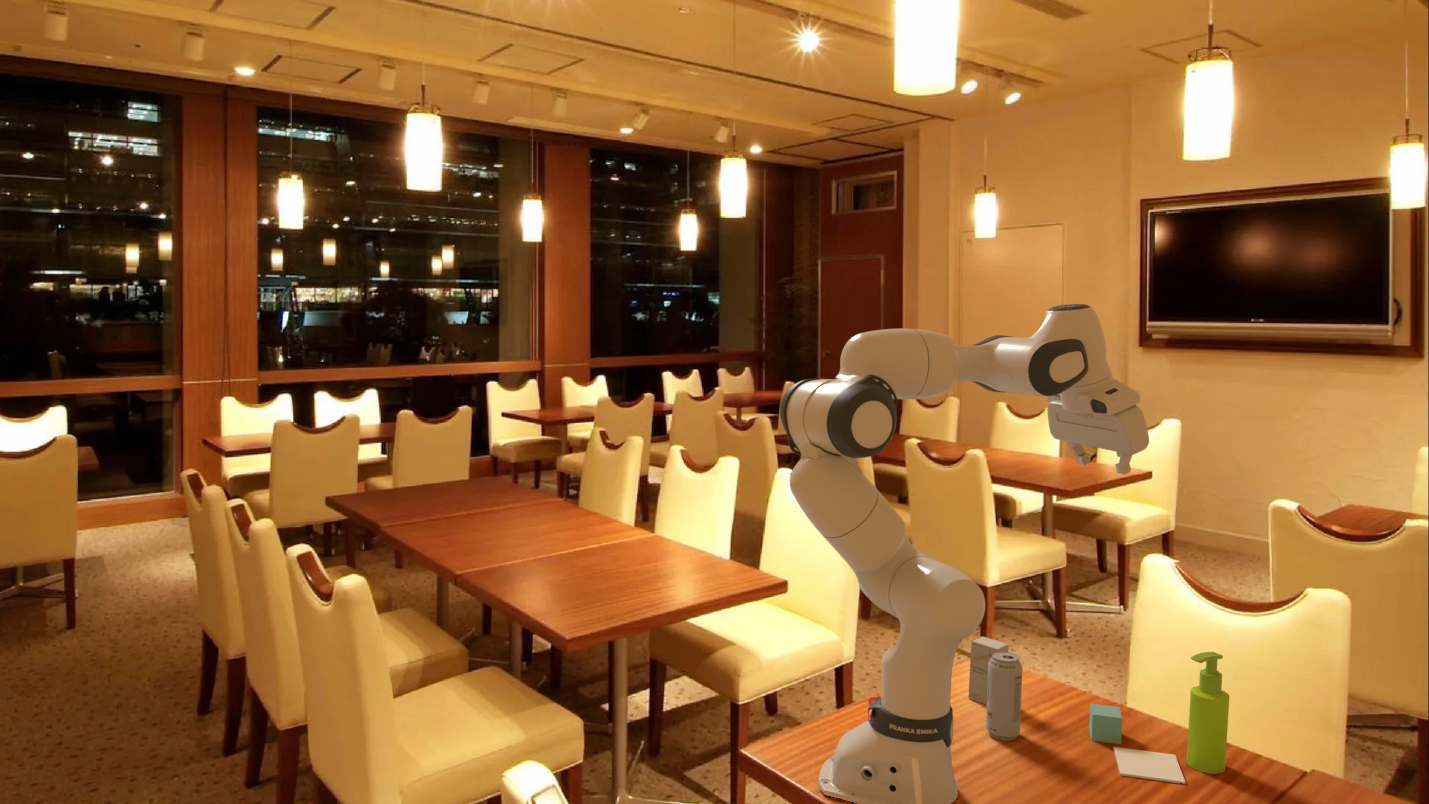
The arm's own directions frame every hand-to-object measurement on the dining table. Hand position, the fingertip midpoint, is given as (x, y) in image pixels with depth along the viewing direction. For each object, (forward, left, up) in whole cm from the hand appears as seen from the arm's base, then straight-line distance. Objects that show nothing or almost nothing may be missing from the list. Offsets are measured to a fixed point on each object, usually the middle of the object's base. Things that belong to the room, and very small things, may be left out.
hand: (1103, 468), depth 165 cm
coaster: (+9, -5, -51) cm, 52 cm away
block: (+3, +5, -51) cm, 51 cm away
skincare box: (-18, +15, -51) cm, 56 cm away
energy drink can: (-15, 0, -51) cm, 53 cm away
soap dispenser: (+18, -2, -51) cm, 54 cm away
